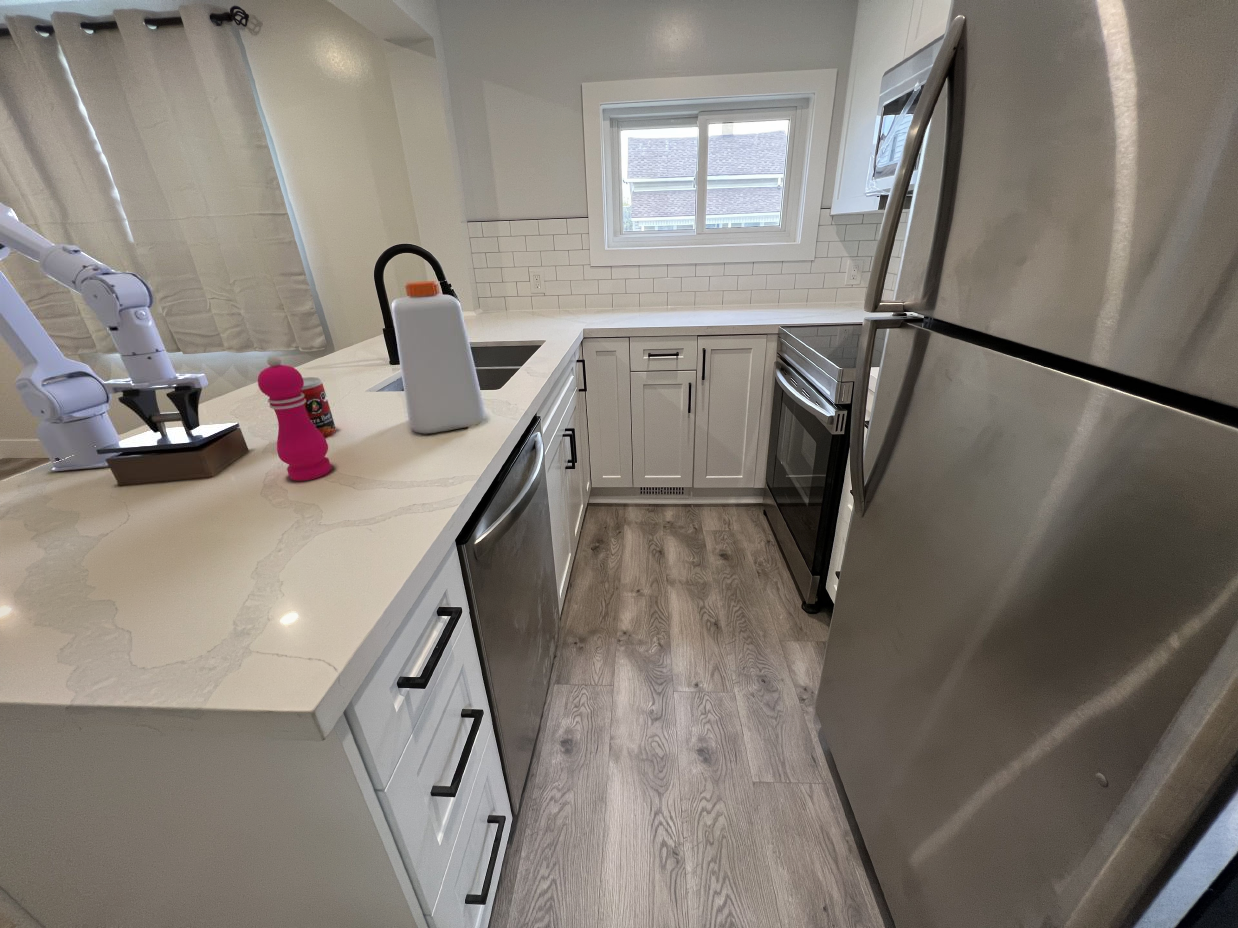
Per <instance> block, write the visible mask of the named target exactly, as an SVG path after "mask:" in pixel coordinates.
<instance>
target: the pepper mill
mask: <svg viewBox="0 0 1238 928" xmlns="http://www.w3.org/2000/svg"><path fill="white" fill-rule="evenodd" d="M266 361H267V364H268V367H265V368H263V370H261V371H260V372H259V374H258V376H257V386H258V388H259V390H260V392H262V393H263V394H264V395H266V396H267V397H268V399H267V403H269V408H270V409H272V410H273V411H274V412H275V415H276V419H277V424H278V426H277V427H278V429H277V430H278V433H277V438H276V451H277V457H278V458H279V460H280V461H281V462H283V463H285V464H287V465H288V466H287V467H286V472H287V473H288V477H289V478H290V480H292V481H297V482H298V481H299V482H302V481H303V482H304V481H311V480H314V479H318V478H320V477H324V476H325V475H327V474H328V473H330V472H331V470H332V464H331V462H330V458H328V457H327V456H326V455H327V453H328V451H329V444H328V442H327V439H326V438H324V436H323V435H322V433H321V432H320V431H319V430H318V429H317V428H316V427H315V425H314V424H313V423H312V422H311V420H310V419H309V417H308V415H307V412H306V410H305V405H304V403H305V402H306V399H305V398H304V394H303V393H301V390H302V388H303V386H304V381H303V378H304V377H303V376H302V373H300V371H299V370H298V369H297V368H295V367H293V366H290V365H286V364H282V360H281V358H280V357H279V356H277V355H270V356H268V358H267V360H266Z"/></svg>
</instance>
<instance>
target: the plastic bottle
mask: <svg viewBox="0 0 1238 928" xmlns="http://www.w3.org/2000/svg"><path fill="white" fill-rule="evenodd" d="M404 289H405V293H406V296H405V297H399V298H395V299H394V300H393V301H392V303H391V311H392V312H391V314H392V319H393V325H394V333H395V338H396V344H397V345H396V346H397V353H398V359H399V366H400V372H401V373H400V374H401V380H402V387H403V393H404V400H405V406H406V413H407V418H408V422H409V426H410V429H411V430H412V431H414V432H415V433H417V434H422V435H423V434H426V435H427V434H429V435H430V434H437V433H442V432H448V431H453V430H459V429H460V430H461V429H465V428H471V427H474V426H478V425H480V424H481V423H482V422H483V421H484V420H485V419H486V416H487V413H486V408H485V405H484V400H483V395H482V392H481V388H480V387H481V386H480V382H479V379H478V378H479V377H478V374H477V370H476V365H475V361H474V356H473V353H472V348H471V345H470V340H469V335H468V332H467V327H466V323H465V317H464V314H463V309H462V304H461V303H460V301H459V300H458V299H457V298H456V297H455V296H452V295H450V294H441V291H440V286H439V282H437V281H435V280H424V281H422V280H421V281H410V282H407V283H405V285H404Z"/></svg>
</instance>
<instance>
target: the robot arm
mask: <svg viewBox="0 0 1238 928" xmlns="http://www.w3.org/2000/svg"><path fill="white" fill-rule="evenodd" d="M11 250H13V251H15V252H16V253H19V254H21V255H23V256H24V257H27V258H29V259H30V260H33V261H34V262H37V263H38V264H39V268H40V270H41V272H43V274H44V275H46V276H47V277H48V278H51V279H53V280H54V281H56V282H58V283H59V284H61V285H64V286H65V287H67V288H69V289H70V290H72V291H74V292H76V293H77V294H79V295H80V297H81V299H82V301H83V303H84V304H85V305H86V306H87V307H88V309H90V310H91V311H92V312H93V313H94V314H95V315H96V317H97V319H98V321H99V323H101V325H102V326H103V327H106V329H107V331H108V332H109V335H110V337H111V338H112V342H113V343H114V346H115V348H116V350H117V352H118V354H119V357H120V359H121V361H122V364H123V365H124V368H125V370H126V372H127V374H128V378H120V379H110V380H108V381H105V380H103V379H102V378H101V377H99V375H97V374H96V373H95V372H94V371H93V369H92V368H91V367H90V366H89V364H86V363H83V362H79V361H77V360H73V359H70V358H68V357H65V355H64V354H63V353H62V351H61V350H60V349H59V348H58V346H57V345H56V344H55V341H53V339H52V337H51V336H50V335H49V334H48V332H47V331H46V330H45V328H44V327H43V326H42V324H41V323H40V322H39V321H38V319H37V318H36V316H35V315H34V314H33V312H32V311H31V309H30V308H29V307H28V305H27V304H26V303H25V302H24V300H23V299H22V297H21V296H20V295H19V293H18V292H17V291H16V289H15V288H14V286H12V284H11V282H10V281H9V280H8V279H7V277H6V276H5V275H4V273H3V272H2V270H1V269H0V338H1V340H2V341H3V343H5V345H6V346H7V347H8V349H9V350H10V351H11V352H12V354H13V355H14V357H16V360H18V361H19V363H20V364H21V365H22V366H23V369H22V370H21V372H20V373H19V374H18V375H17V377H16V379H15V380H14V382H13V387H14V389H16V392H18V394H19V396H20V399H21V402H22V404H23V406H24V408H25V409H26V410H27V411H28V413H29V414H31V415H32V416H33V417H35V418H36V419H40V420H41V422H40V423H39V424H38V425H37V428H36V436H37V439H38V441H39V443H40V444H41V446H42V448H43V450H44V452H45V453H46V455H47V457H48V459H49V460H50V462H51V464H52V463H53V462H56V461H59V460H61V461H59V462H56V463H53V464H52V466H53V467H51V468H50V471H51V472H61V471H62V472H63V471H73V470H75V471H76V470H84V469H85V470H86V469H97V468H107V467H109V465H108V464H107V462H106V460H105V459H107V458H109V457H111V456H113V455H115V454H117V453H110V454H98V453H97V451H96V450H97V449H100V448H103V447H106V446H108V445H111V444H114V443H117V442H120V441H122V440H121V438H120V436H119V434H118V432H117V430H116V428H115V426H114V424H113V422H112V420H111V418H110V416H109V414H108V412H107V411H109V410H111V408H110V406H109V405H110V404H111V403H112V401H113V395H115V394H118V393H122V394H121V396H119V397H118V398H117V399H118V402H119V403H121V404H122V405H124V406H125V407H126V408H127V409H130V411H132V412H133V413H135V414H136V415H137V416H138V417H139V418H140V419H141V420H142V421H143V422H144V423H145V424H146V425H147V427H148V428H149V429H150V431H151V430H152V431H153V432H154V433H158V432H159V430H158V427H157V424H156V423H154V422H153V421H152V419H151V416H152V414H157V413H161V410H160V409H159V405H158V399H157V392H156V391H162V390H172V391H170V392H169V391H168V392H167V393H165V395H166V397H167V398H168V399H169V400H170V402H171V403H172V404H173V406H174V407H175V409H176V410H177V412H179V413H180V415H181V417H182V419H183V422H184V424H185V426H186V427H187V429H188V430H194V429H196V428H198V427H200V426H201V425H200V417H199V416H200V415H199V406H200V399H201V394H202V391H203V389H202V388H205V387H207V386H209V385H210V384H209V381H208V379H207V376H206V374H205V373H197V374H195V373H193V374H192V373H176V371H175V369H174V366H173V364H172V361H171V360H170V356H169V355H168V352H167V350H166V348H165V345H164V342H163V340H162V338H161V335H160V333H159V330H158V328H157V326H156V324H155V320H154V318H153V316H152V313H151V311H150V309H151V308H152V307H153V305H154V302H155V301H154V299H155V298H154V295H153V290H152V289H151V287H150V286H149V284H148V283H147V282H146V281H145V280H144V278H142V277H141V276H139V275H138V274H137V273H135V272H132V271H119V270H114V269H112V268H111V267H110V266H108V265H106V264H105V263H102V262H100V261H98V260H97V259H95V258H93V257H91V256H89V255H87V254H86V253H85V252H82V249H81V248H80V247H78V246H76V245H74V244H64V243H63V244H62V243H61V244H55V243H53V242H52V241H50V240H48V239H47V238H46V237H44V236H42V235H41V234H39V233H38V232H37V231H35V230H33V229H32V228H30V227H29V226H27V225H26V224H24V223H23V222H21V221H20V220H19V219H18V217H17V214H16V213H15V211H14V210H13V208H11V207H9V206H8V205H5V204H3V202H1V201H0V261H1V260H4V259H6V258H7V257H8V256H9V254H10V252H11ZM163 423H164V426H165V427H166V422H163ZM95 446H96V447H95ZM72 455H74V456H72ZM69 456H71V457H69ZM66 457H69V458H67V459H65V458H66ZM62 459H64V460H62Z"/></svg>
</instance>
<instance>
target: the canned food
mask: <svg viewBox="0 0 1238 928" xmlns="http://www.w3.org/2000/svg"><path fill="white" fill-rule="evenodd" d="M302 378H303V381H304V386H303V388H302V390H301V393H303V394H304V398H305V399H306V402H305V403H304V405H305V410H306V412H307V415H308V417H309V419H310V420H311V422H312V423H313V424H314V425H315V427H316V428H317V429H318V430H319V431H320V432H321V433H322V435H323V436H324V438H325V439H326V438H329V437H330V436H332V435H333V434H335V433H336V424H335V421H334V417H333V414H332V411H331V407H330V404H329V400H328V397H327V394H326V390H325V387H324V384H323V380H322V379H321V378H320V377H312V376H311V377H310V376H309V377H302Z"/></svg>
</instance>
